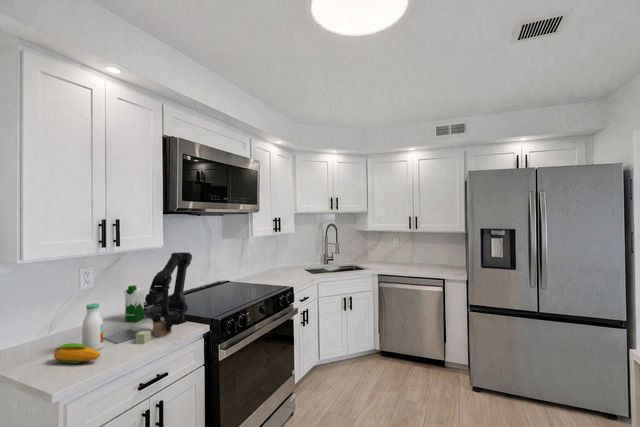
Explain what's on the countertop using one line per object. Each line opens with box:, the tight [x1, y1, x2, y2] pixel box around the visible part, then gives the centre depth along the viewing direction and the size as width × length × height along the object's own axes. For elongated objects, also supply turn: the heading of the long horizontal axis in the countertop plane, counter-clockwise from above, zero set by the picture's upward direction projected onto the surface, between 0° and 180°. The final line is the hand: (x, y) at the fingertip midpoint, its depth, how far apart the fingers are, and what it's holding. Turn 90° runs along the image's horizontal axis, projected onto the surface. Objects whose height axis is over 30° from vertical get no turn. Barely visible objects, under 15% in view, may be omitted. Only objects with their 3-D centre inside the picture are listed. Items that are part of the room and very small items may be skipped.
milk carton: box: [123, 284, 146, 323], centre depth 184 cm, size 9×9×20 cm
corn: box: [53, 342, 101, 364], centre depth 132 cm, size 7×8×20 cm
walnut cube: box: [152, 319, 172, 337], centre depth 163 cm, size 6×6×6 cm
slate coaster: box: [103, 328, 140, 345], centre depth 159 cm, size 13×13×1 cm
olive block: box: [135, 330, 152, 345], centre depth 152 cm, size 4×4×4 cm
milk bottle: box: [81, 303, 104, 351], centre depth 144 cm, size 8×8×20 cm
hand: (162, 330), depth 163 cm, fingers open, 9 cm apart
